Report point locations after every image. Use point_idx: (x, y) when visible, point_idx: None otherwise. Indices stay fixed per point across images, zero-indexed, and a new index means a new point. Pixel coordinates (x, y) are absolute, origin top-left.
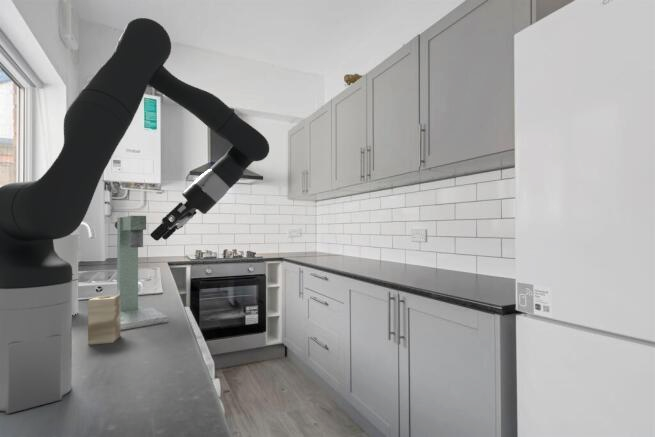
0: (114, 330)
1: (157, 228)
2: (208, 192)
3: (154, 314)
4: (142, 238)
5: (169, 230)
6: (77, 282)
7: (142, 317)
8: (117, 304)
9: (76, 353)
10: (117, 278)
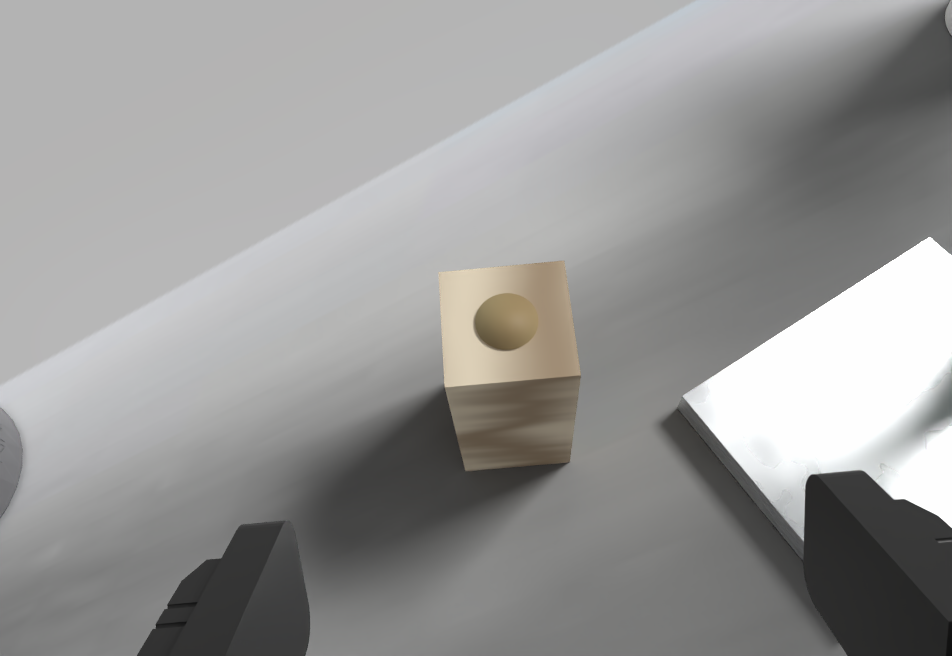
0: (486, 452)
1: (198, 618)
2: None
3: (928, 510)
4: None
5: (885, 640)
6: None
7: (846, 463)
8: (526, 400)
9: (344, 390)
10: None
